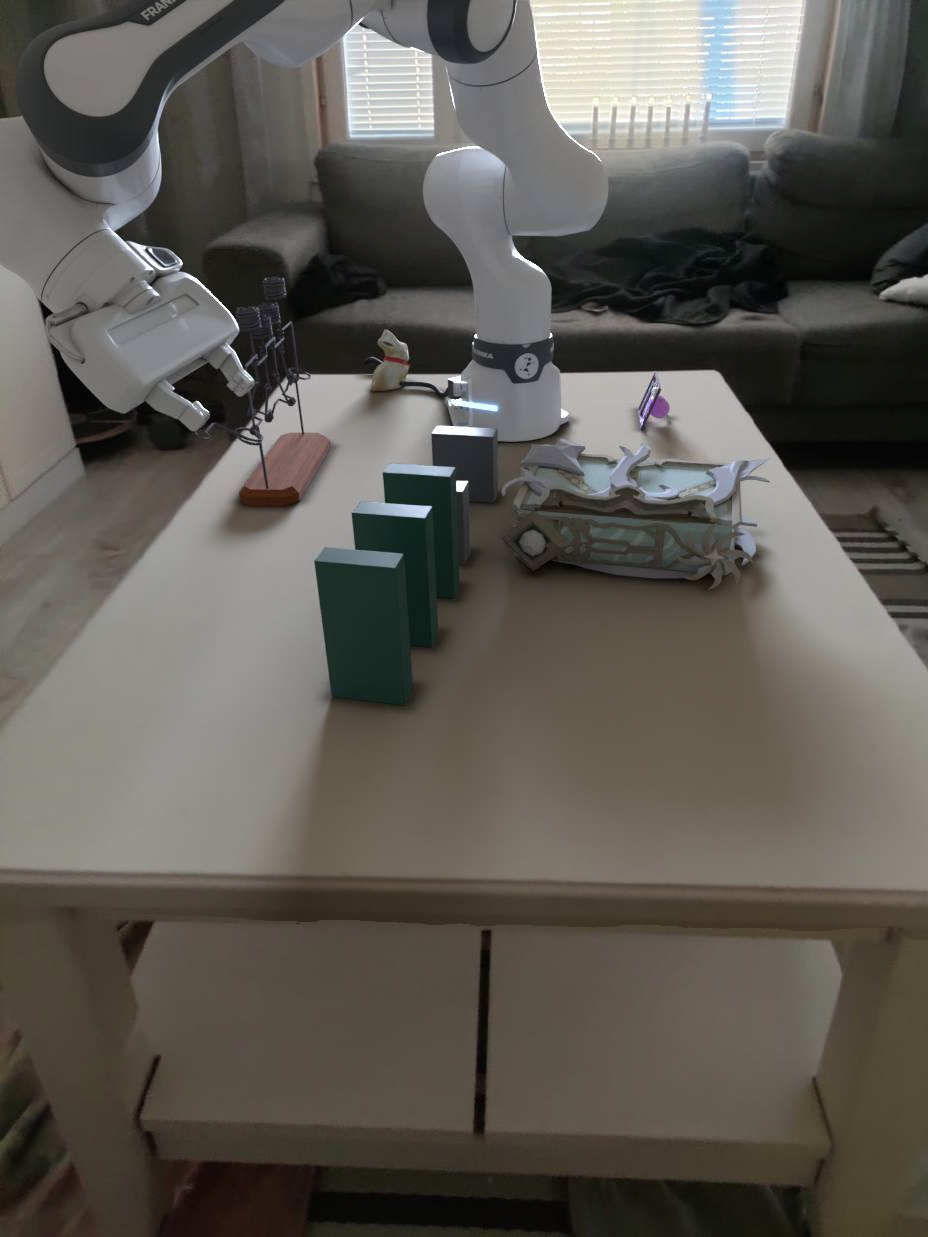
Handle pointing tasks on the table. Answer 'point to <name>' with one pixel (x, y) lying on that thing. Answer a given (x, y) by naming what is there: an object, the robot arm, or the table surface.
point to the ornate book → (631, 513)
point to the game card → (653, 402)
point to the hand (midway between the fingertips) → (226, 406)
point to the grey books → (468, 470)
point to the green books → (384, 593)
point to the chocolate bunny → (391, 364)
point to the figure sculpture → (292, 453)
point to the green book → (405, 557)
